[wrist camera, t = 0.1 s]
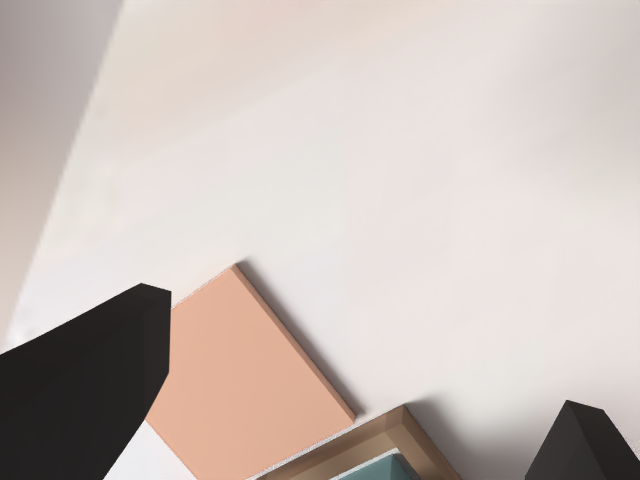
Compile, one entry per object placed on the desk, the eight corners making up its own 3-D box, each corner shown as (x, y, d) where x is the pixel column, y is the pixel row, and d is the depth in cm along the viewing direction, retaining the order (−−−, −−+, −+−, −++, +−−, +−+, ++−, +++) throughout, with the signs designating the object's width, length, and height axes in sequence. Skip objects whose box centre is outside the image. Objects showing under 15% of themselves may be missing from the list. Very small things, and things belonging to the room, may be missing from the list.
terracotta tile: (216, 488, 26) (212, 496, 25) (101, 356, 24) (95, 362, 24) (355, 415, 23) (354, 423, 22) (234, 263, 22) (230, 268, 21)
